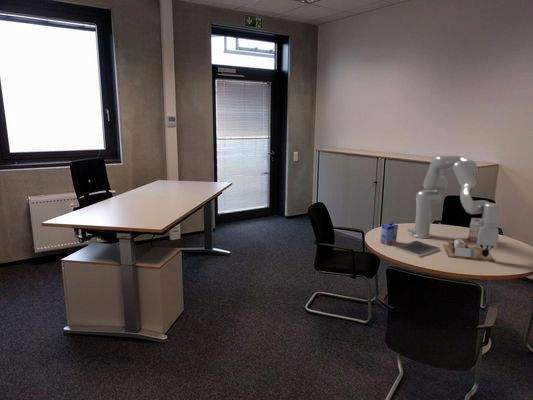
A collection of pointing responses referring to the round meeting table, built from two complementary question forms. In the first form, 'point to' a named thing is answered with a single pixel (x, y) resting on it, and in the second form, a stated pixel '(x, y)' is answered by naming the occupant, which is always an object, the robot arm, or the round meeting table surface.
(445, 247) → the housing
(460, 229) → the round meeting table surface
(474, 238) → the ink cartridge box
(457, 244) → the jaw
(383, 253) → the round meeting table surface
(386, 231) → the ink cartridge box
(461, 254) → the gate
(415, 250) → the picture frame
